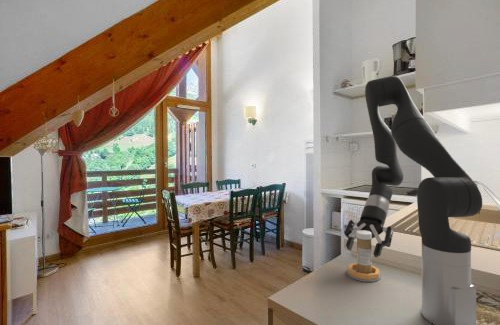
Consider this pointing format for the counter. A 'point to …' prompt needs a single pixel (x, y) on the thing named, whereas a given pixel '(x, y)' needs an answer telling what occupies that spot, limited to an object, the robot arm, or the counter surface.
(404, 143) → the robot arm
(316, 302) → the counter surface
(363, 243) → the spice jar
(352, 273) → the orange rimmed grey dish
